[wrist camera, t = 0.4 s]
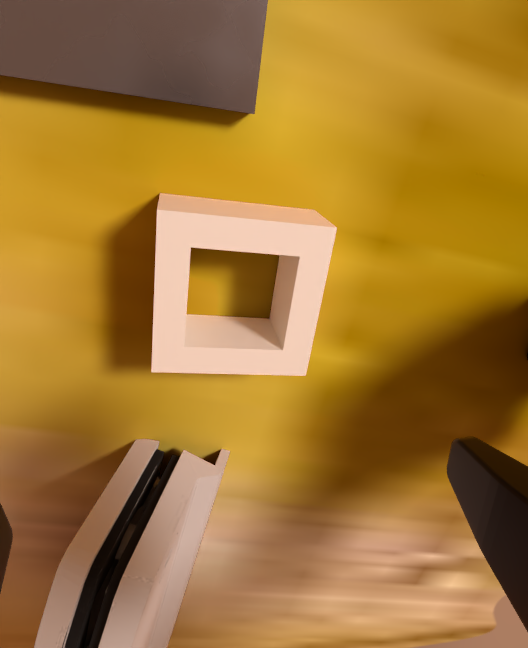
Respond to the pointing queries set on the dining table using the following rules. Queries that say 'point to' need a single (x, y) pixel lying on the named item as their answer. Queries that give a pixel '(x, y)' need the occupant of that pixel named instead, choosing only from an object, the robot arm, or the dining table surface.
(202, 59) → the grey base with post
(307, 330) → the collar
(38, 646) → the napkin holder
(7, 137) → the dining table surface
